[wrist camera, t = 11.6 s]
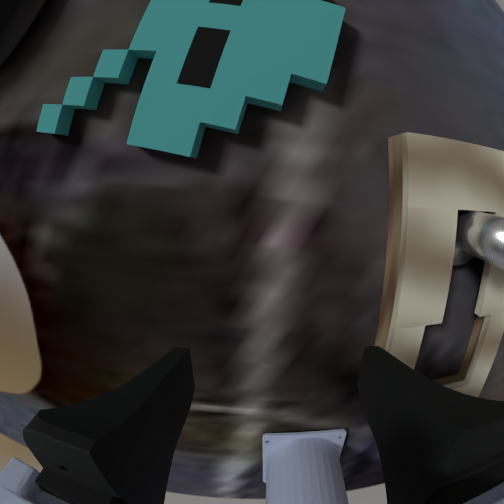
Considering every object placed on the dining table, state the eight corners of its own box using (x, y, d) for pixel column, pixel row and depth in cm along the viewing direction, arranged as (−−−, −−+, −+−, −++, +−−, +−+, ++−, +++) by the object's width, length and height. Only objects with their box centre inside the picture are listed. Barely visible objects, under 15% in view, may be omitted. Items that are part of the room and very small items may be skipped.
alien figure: (52, 133, 19) (295, 184, 19) (36, 131, 17) (298, 185, 17) (134, -50, 14) (350, -29, 14) (126, -61, 12) (356, -43, 12)
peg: (473, 259, 19) (532, 290, 12) (421, 262, 19) (479, 300, 12) (478, 191, 18) (544, 202, 11) (425, 186, 18) (492, 195, 11)
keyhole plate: (464, 382, 22) (477, 398, 19) (362, 403, 23) (370, 426, 20) (503, 157, 17) (525, 157, 14) (387, 137, 17) (406, 132, 15)
